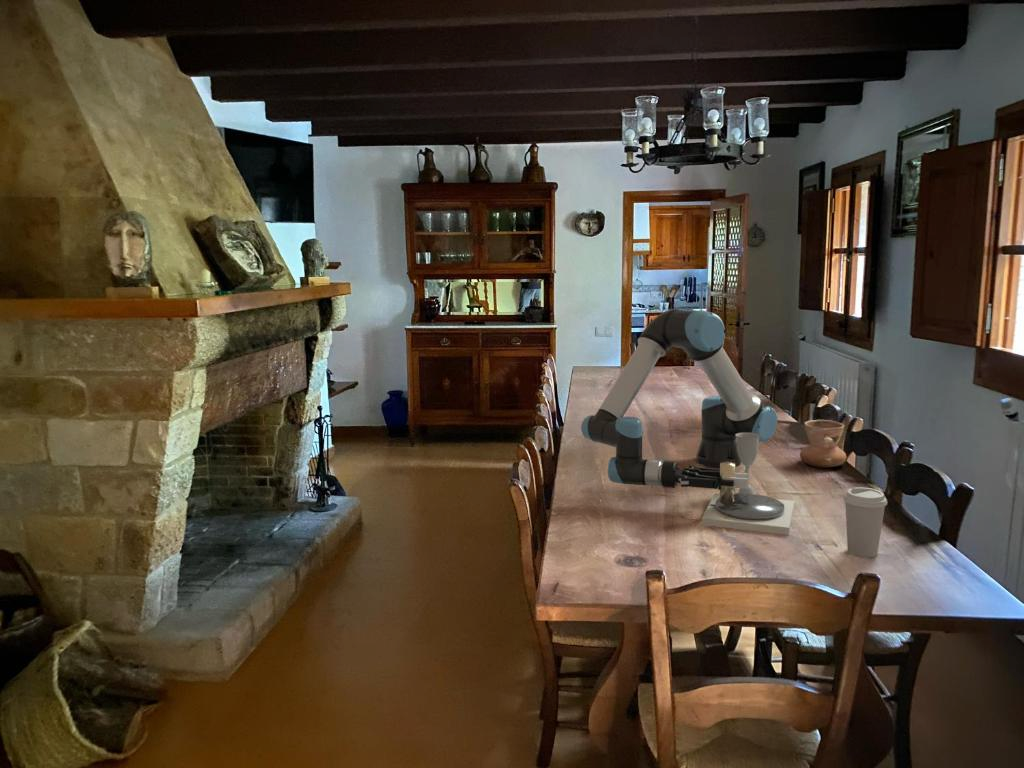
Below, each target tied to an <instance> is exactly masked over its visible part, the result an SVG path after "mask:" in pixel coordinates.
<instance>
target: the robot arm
mask: <svg viewBox="0 0 1024 768" xmlns="http://www.w3.org/2000/svg"><path fill="white" fill-rule="evenodd" d="M725 327H726V326H725V324H724V321H723V320H722V319H721V317H720V316H719V315H717V314H716V313H714V312H711V311H707V310H702V309H700V310H695V309H694V310H693V309H692V310H690V309H680V308H679V309H676V308H675V309H674V308H672V309H668V310H666V311H663V312H662V313H660V314H658V315H657V316H656V317H654V318H653V319H652V320H651V321H650V322H649V324H648V325H647V326H645V328H644V330H643V331H642V332H641V334H640V335H639V337H638V338H637V347H636V348H635V350H634V351H633V353H632V354H631V356H630V358H629V359H628V361H627V363H626V364H625V366H624V367H623V369H622V371H621V372H620V373H619V376H618V377H617V378H616V381H615V382H614V384H613V386H612V387H611V389H610V391H608V394H607V395H606V397H604V400H603V401H602V403H601V405H600V406H599V408H598V410H597V412H595V414H593V415H590V414H589V415H588V416H586V417H585V418H584V419H583V421H582V423H581V427H580V429H581V434H582V435H583V437H584V438H586V439H588V440H590V441H592V442H594V443H599V444H603V445H606V446H610V447H612V448H615V456H612V457H610V459H609V461H608V467H607V475H608V479H609V480H610V482H613V483H617V484H623V485H633V486H634V485H635V486H648V487H650V488H651V489H653V488H655V487H656V488H657V487H658V488H660V487H661V486H662V488H668V489H675V488H677V486H678V484H680V487H681V488H698V489H699V488H700V489H701V488H702V489H711V490H712V489H714V490H718V491H720V490H721V486H722V487H731V488H735V489H740V488H742V489H747V484H750V479H749V477H750V473H749V474H747V473H745V472H735V477H723V476H722V479H721V478H720V463H721V462H733V463H735V467H737V466H740V465H741V464H742V462H741V460H740V458H739V456H738V453H737V437H736V434H737V433H745V432H748V433H757V434H760V438H759V443H763V442H766V441H768V440H770V439H771V438H772V436H773V435H774V433H775V431H776V429H777V425H778V414H777V411H776V410H775V408H773V407H771V406H766V405H765V404H764V403H763V402H762V400H761V399H760V398H759V396H758V395H757V394H754V393H751V392H750V390H749V388H748V386H747V385H746V384H745V382H744V380H743V379H742V377H741V375H740V374H739V372H738V370H737V369H736V367H735V365H734V364H733V362H732V360H731V359H730V357H729V356H728V354H727V352H726V351H725V349H724V344H725V338H726V333H725V332H724V331H725V329H726V328H725ZM672 348H677V349H683V351H684V352H685V354H686V355H687V356H688V358H689V360H691V361H693V362H698V364H699V366H700V367H701V369H702V371H703V373H704V374H705V375H706V377H707V378H708V380H709V382H710V383H711V384H712V387H714V388H713V389H715V391H716V392H717V394H718V395H714V396H713V395H712V396H708V397H705V398H704V399H702V402H701V409H700V411H701V440H700V443H699V446H698V449H697V451H696V455H695V461H696V463H697V464H699V465H702V466H696V465H695V466H694V465H689V466H687V467H681V468H679V464H678V463H677V461H672V460H671V461H669V460H665V461H663V460H662V459H661V460H657V459H644V458H643V435H644V434H643V433H644V432H643V425H642V420H641V419H640V418H639V417H637V416H625V414H626V413H627V411H628V409H629V408H630V406H631V405H632V402H633V401H634V399H636V398H635V397H636V396H637V395H638V393H639V391H640V390H641V388H642V387H643V386H644V383H645V382H646V380H647V379H648V376H649V375H650V374H651V372H652V370H653V369H654V367H655V365H656V363H658V361H659V359H660V358H662V357H664V356H665V355H667V352H668V351H669V349H672ZM703 466H704V467H703Z"/></svg>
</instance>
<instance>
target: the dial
mask: <svg viewBox="0 0 1024 768" xmlns="http://www.w3.org/2000/svg"><path fill="white" fill-rule="evenodd" d="M719 469H720V478H721V479H722V476H723V477H735V473H736V466H735V463H733V462H721V463H720V467H719ZM735 492H736V488H731V487H722V486H721V490H719V494H720V498H718V499H717V500H716V509H717V510H718V511H719V512H721V513H723V514H725V515H728V516H731V517H735V518H741V519H750V520H764V519H772V518H776V517H779V516H781V515H782V514H783V513H784V504H783V503H782V502H780V501H779V500H780V499H779V500H776V499H777V498H774V497H771V496H768V495H761V494H756V493H755V494H738V493H735Z"/></svg>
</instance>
